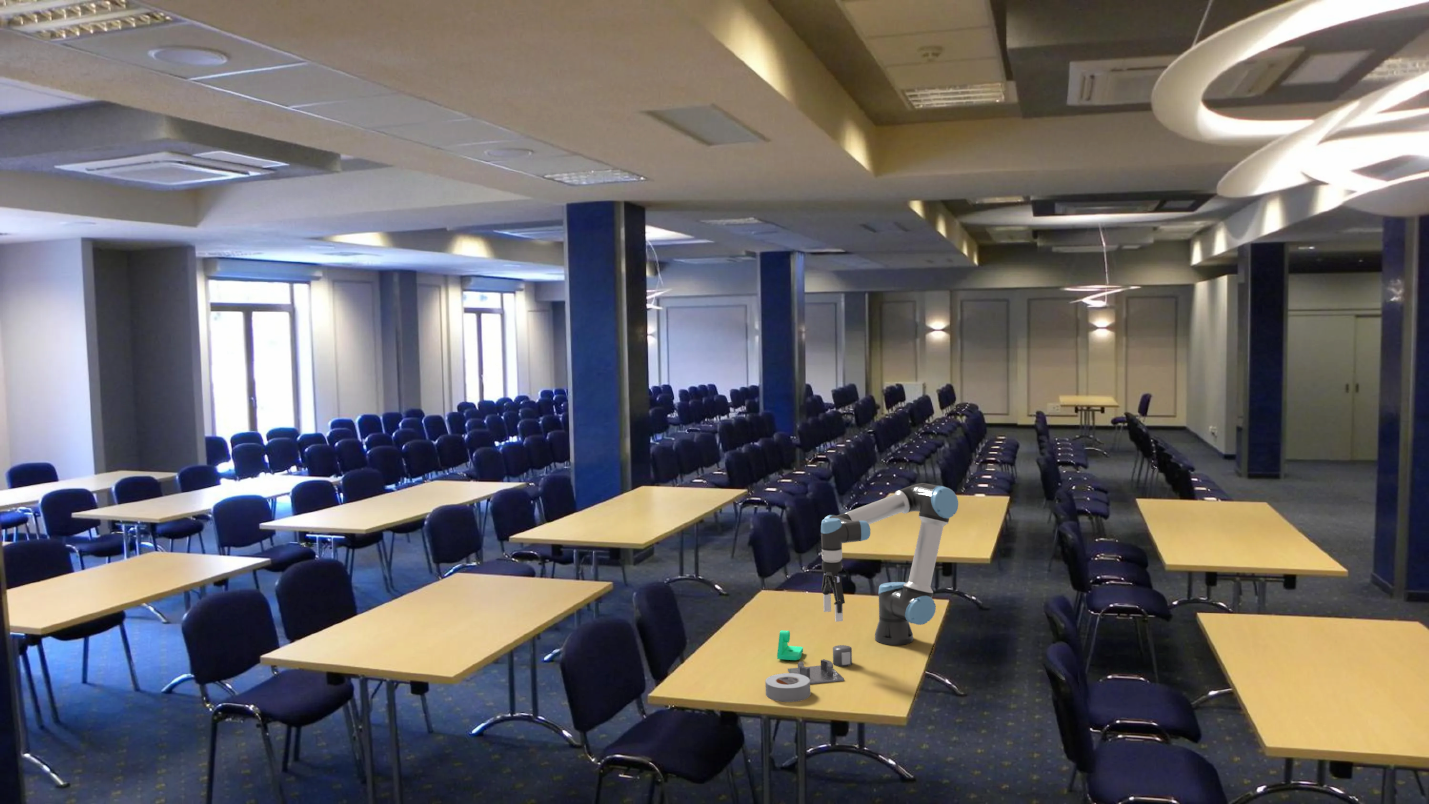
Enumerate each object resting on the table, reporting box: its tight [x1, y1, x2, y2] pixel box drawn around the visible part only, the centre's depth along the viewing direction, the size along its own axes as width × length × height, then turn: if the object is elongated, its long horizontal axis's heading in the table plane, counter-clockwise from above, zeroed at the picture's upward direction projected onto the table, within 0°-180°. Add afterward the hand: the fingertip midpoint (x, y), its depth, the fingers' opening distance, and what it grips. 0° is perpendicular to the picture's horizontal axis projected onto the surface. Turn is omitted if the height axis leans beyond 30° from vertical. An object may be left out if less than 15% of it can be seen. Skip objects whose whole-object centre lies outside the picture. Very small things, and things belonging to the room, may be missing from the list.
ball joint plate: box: [787, 658, 845, 685], centre depth 361 cm, size 16×16×4 cm
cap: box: [832, 644, 853, 668], centre depth 374 cm, size 7×8×6 cm
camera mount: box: [776, 629, 804, 661], centre depth 383 cm, size 12×8×10 cm, turn 163°
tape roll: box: [764, 672, 811, 703], centre depth 344 cm, size 15×15×5 cm
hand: (833, 616), depth 374 cm, fingers open, 13 cm apart
